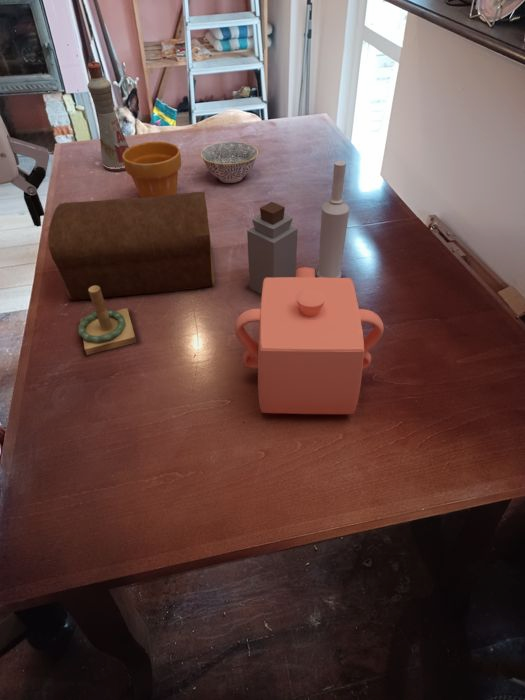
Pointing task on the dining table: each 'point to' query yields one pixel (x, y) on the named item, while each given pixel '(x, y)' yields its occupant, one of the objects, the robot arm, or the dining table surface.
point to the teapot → (309, 344)
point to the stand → (106, 325)
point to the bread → (133, 245)
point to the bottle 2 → (333, 227)
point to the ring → (103, 337)
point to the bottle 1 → (107, 119)
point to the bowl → (229, 160)
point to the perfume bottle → (271, 246)
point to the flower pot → (153, 168)
